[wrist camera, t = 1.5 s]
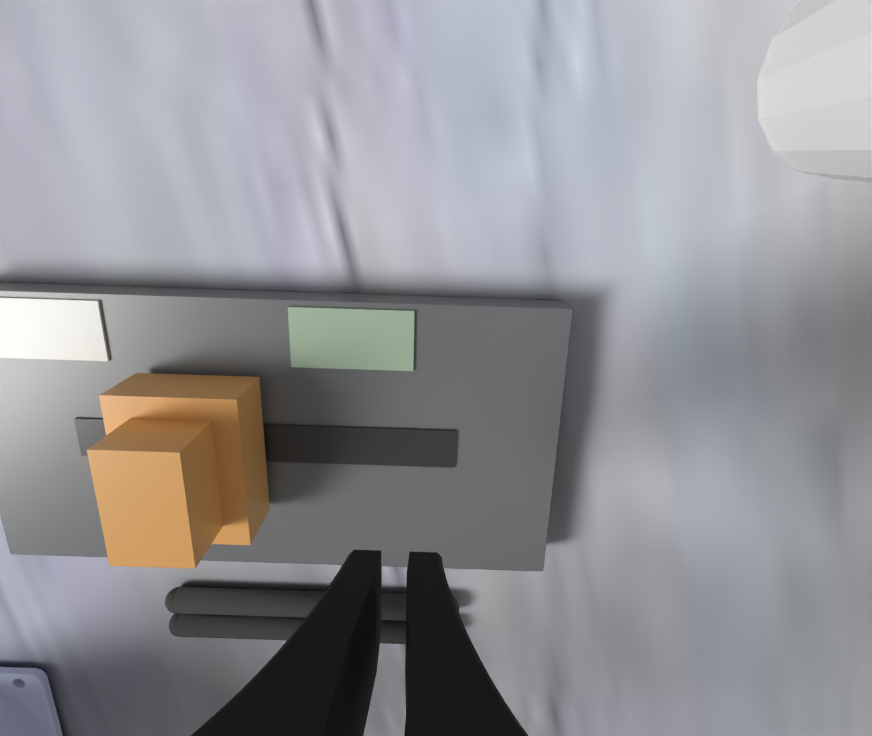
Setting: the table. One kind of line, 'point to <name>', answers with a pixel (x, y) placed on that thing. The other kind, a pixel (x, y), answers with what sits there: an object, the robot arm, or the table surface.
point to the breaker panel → (302, 414)
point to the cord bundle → (263, 613)
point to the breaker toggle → (179, 467)
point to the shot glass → (821, 89)
